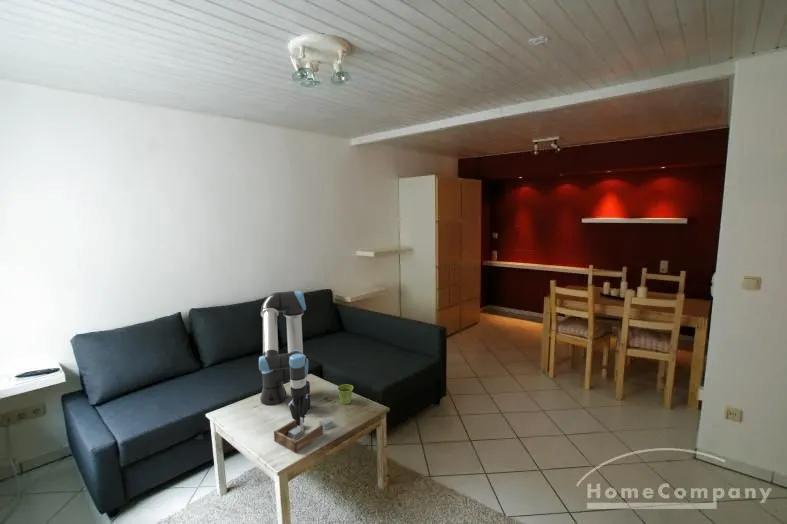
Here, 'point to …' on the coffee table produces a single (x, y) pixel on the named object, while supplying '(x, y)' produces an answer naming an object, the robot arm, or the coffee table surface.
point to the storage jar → (307, 393)
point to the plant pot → (345, 393)
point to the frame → (300, 443)
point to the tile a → (295, 433)
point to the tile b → (326, 422)
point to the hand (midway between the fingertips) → (300, 430)
